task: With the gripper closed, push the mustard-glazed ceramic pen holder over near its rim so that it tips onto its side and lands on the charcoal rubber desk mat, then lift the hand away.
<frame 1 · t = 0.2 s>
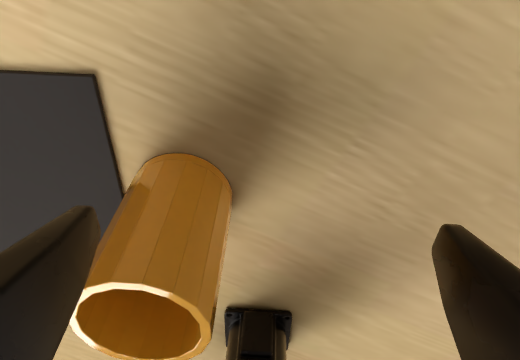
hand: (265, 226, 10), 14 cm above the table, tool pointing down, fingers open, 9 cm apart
mat: (17, 185, 28), on the table
pen holder: (183, 193, 28), on the table
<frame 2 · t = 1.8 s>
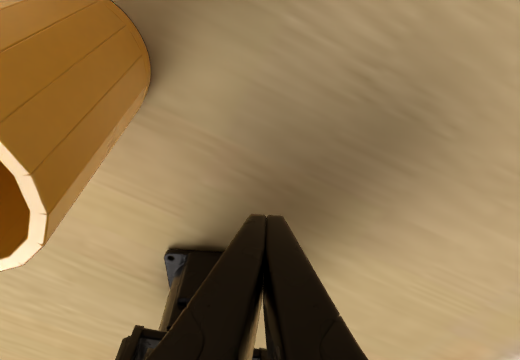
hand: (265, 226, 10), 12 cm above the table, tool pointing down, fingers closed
pen holder: (80, 59, 19), on the table
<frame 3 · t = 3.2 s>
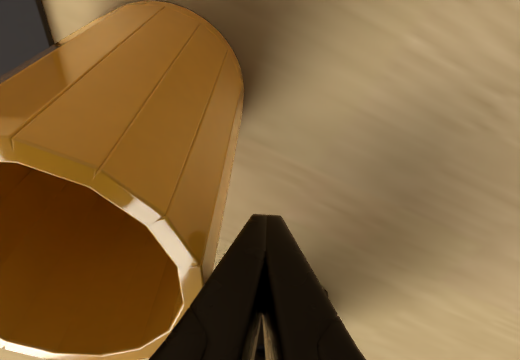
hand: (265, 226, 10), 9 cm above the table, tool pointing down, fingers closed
pen holder: (164, 86, 17), on the table, touching gripper
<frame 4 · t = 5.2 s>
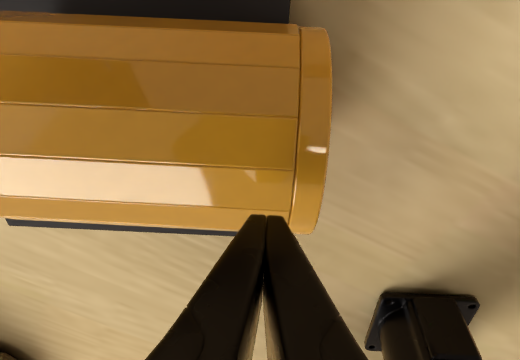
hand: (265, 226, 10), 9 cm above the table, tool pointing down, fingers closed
mat: (110, 85, 17), on the table
pen holder: (314, 134, 14), point 4 cm above the table, tilted 90°, touching mat
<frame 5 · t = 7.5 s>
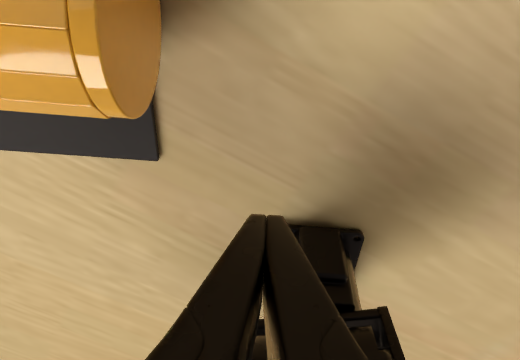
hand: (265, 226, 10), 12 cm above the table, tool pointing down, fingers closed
pen holder: (136, 25, 15), point 4 cm above the table, tilted 90°, touching mat
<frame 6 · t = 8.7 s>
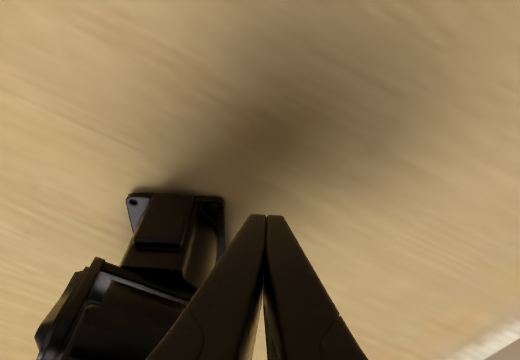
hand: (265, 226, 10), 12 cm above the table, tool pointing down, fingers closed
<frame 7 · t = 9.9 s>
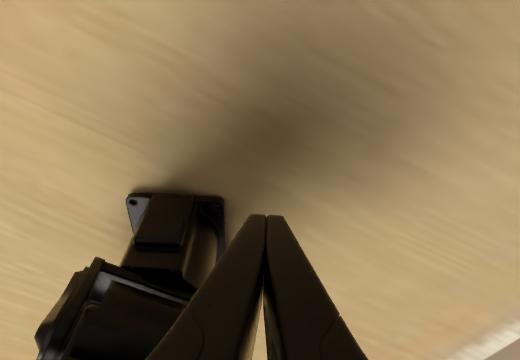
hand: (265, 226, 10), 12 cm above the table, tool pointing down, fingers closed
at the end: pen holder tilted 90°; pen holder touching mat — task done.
